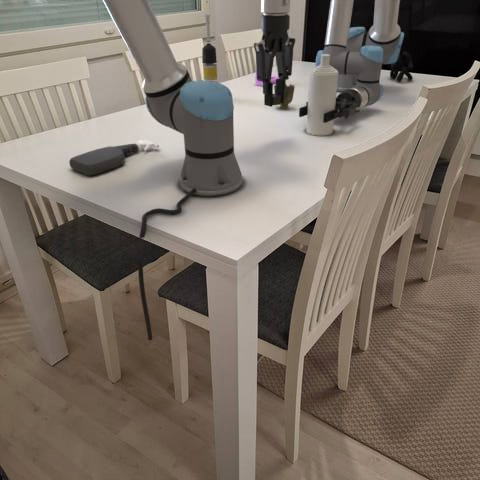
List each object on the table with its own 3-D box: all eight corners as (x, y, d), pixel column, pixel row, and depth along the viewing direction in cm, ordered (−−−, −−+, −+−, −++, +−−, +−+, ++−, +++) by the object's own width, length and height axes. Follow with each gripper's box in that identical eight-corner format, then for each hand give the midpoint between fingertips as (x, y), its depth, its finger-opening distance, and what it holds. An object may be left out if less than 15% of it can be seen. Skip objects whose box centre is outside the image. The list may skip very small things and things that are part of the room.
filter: (220, 99, 177) (217, 15, 161) (206, 100, 176) (202, 16, 160) (215, 96, 182) (212, 14, 166) (202, 97, 180) (197, 14, 164)
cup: (270, 109, 164) (270, 87, 160) (278, 104, 169) (278, 82, 165) (289, 111, 161) (290, 89, 157) (296, 106, 166) (297, 84, 162)
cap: (283, 102, 130) (283, 94, 128) (277, 105, 127) (277, 97, 126) (270, 100, 131) (270, 92, 130) (265, 104, 128) (265, 96, 127)
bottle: (311, 136, 138) (317, 58, 126) (302, 128, 145) (306, 53, 133) (337, 134, 140) (344, 56, 128) (326, 126, 147) (333, 51, 135)
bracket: (265, 86, 195) (266, 69, 191) (255, 84, 197) (255, 68, 194) (281, 80, 203) (282, 64, 200) (271, 79, 206) (271, 63, 203)
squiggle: (400, 92, 202) (376, 71, 205) (417, 76, 202) (392, 56, 205) (405, 81, 191) (380, 59, 194) (423, 64, 191) (397, 42, 194)
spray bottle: (67, 168, 120) (139, 144, 136) (91, 178, 114) (163, 151, 130) (65, 157, 118) (137, 134, 134) (89, 167, 112) (162, 142, 128)
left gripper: (260, 18, 110) (260, 112, 122) (308, 12, 118) (303, 101, 131) (241, 16, 115) (243, 107, 127) (288, 10, 123) (286, 96, 136)
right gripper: (378, 117, 146) (340, 134, 132) (324, 105, 159) (284, 120, 145) (382, 94, 142) (343, 109, 128) (326, 84, 155) (285, 97, 141)
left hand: (274, 103), depth 129 cm, fingers closed on cap, 4 cm apart
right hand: (312, 115), depth 137 cm, fingers closed on bottle, 8 cm apart
